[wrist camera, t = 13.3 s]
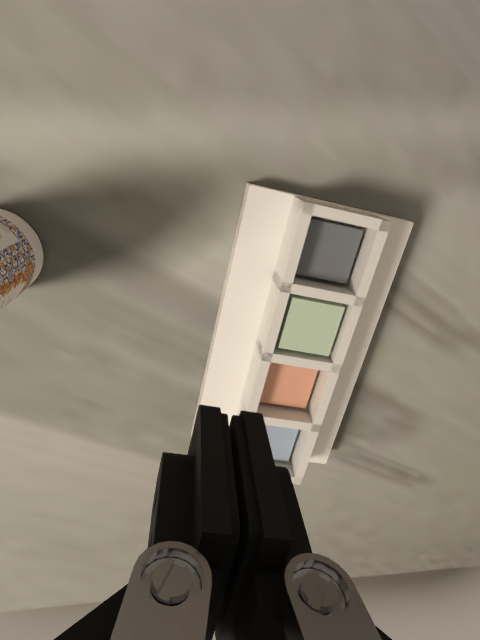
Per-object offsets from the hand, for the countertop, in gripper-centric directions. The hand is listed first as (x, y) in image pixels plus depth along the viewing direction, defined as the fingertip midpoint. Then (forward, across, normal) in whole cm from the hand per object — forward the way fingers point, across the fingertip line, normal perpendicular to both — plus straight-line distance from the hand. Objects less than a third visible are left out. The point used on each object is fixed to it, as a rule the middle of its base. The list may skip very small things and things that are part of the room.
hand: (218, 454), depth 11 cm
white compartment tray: (+27, -10, +7) cm, 30 cm away
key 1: (+25, -9, -2) cm, 27 cm away
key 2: (+24, -9, +4) cm, 26 cm away
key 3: (+25, -9, +10) cm, 28 cm away
